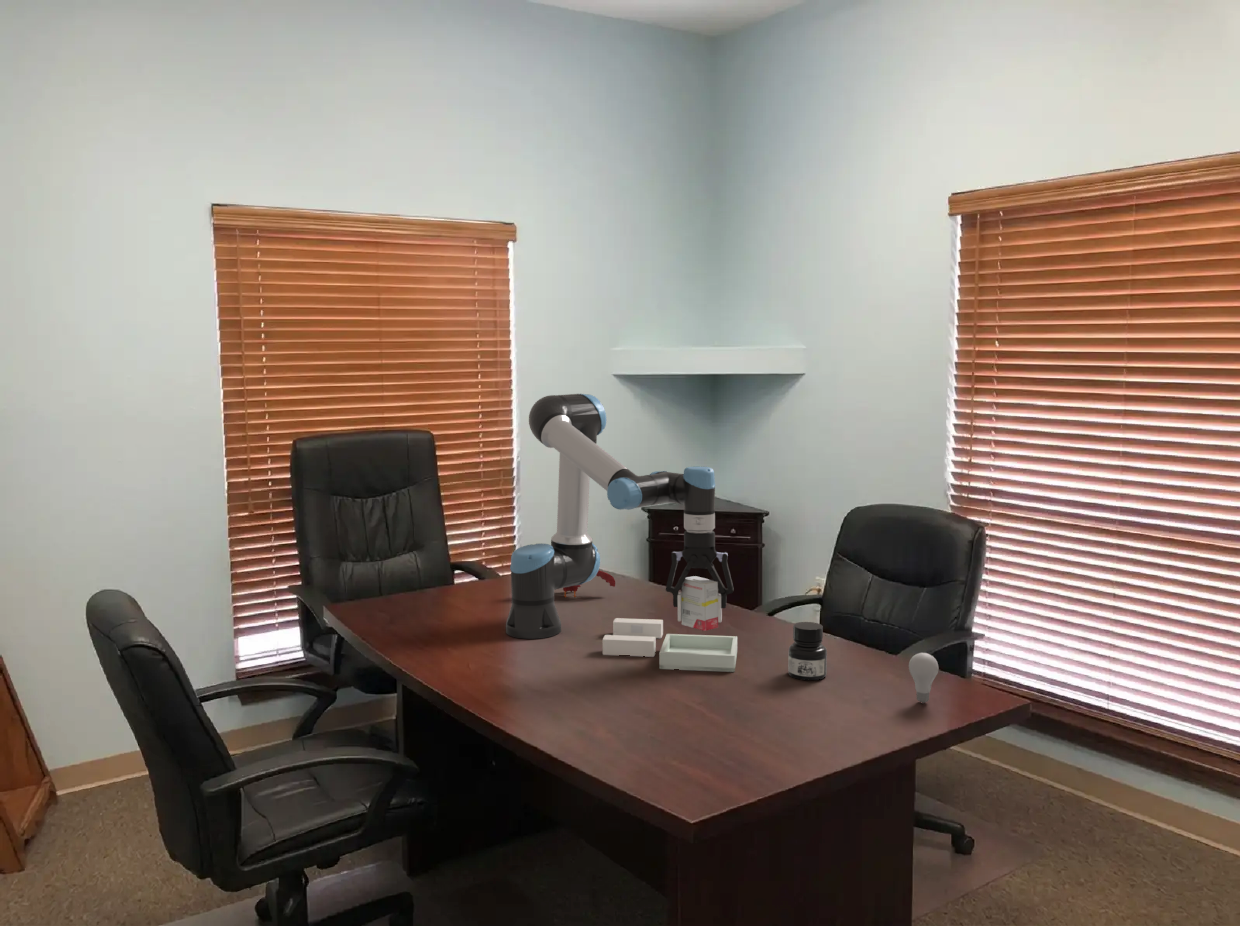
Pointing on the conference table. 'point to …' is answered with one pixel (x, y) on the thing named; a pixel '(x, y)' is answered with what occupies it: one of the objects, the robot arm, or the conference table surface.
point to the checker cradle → (633, 637)
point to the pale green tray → (698, 652)
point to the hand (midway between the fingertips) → (699, 620)
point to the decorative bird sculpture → (603, 575)
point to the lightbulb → (923, 674)
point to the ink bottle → (807, 652)
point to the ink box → (700, 603)
